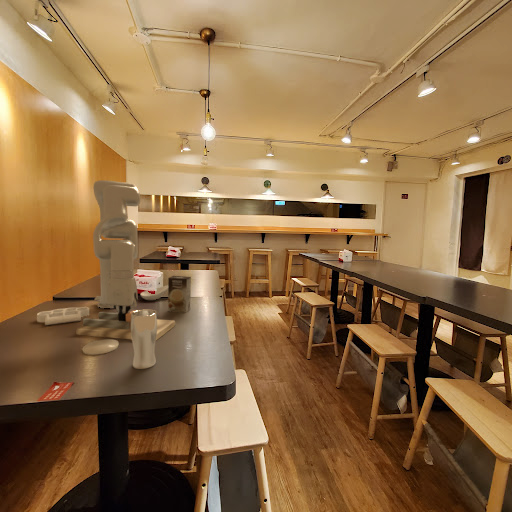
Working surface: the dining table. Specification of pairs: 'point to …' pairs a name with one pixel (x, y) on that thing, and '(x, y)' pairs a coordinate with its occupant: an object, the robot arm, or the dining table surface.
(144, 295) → the spoon rest
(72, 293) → the dining table surface
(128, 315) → the block
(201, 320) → the dining table surface
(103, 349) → the coaster
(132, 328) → the beer glass
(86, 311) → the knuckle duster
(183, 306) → the coffee box
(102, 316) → the board
